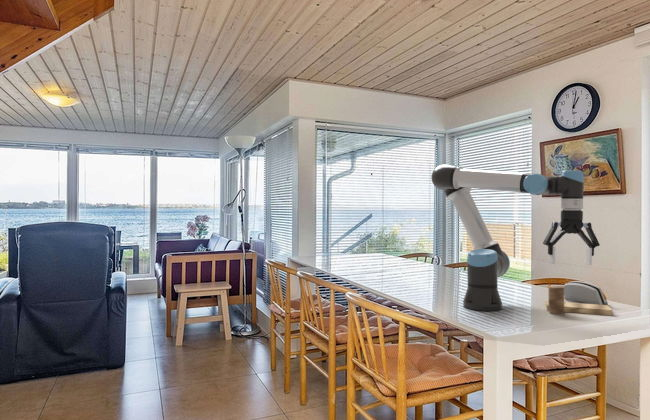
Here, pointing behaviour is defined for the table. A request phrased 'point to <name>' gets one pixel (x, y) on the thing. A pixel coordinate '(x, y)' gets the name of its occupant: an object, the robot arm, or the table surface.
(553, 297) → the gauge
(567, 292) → the grey curved slab
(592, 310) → the board
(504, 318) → the table surface
